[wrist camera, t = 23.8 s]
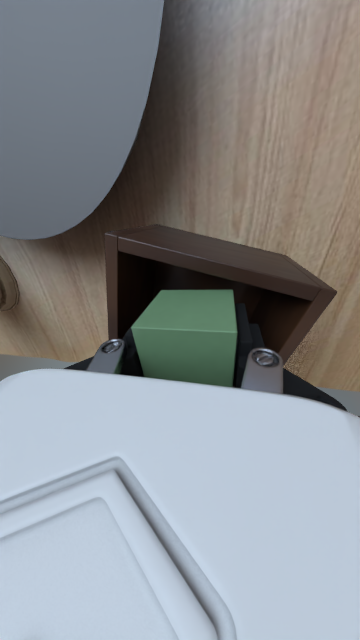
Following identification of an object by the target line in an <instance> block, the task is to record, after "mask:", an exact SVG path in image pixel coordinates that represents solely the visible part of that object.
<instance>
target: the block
mask: <svg viewBox="0 0 360 640" xmlns="http://www.w3.org/2000/svg"><path fill="white" fill-rule="evenodd" d="M131 329H132V333H133V337H134V340H135V344H136V348H137V351H138V355H139V359H140V363H141V366H142V370H143V374H144V377H147V378H156V379H165V380H173V381H182V382H191V383H199V384H208V385H216V386H225V387H233V378H234V367H235V355H236V344H237V333H238V332H237V323H236V313H235V304H234V294H233V290H161V291H160V292H159V294H158V295H157V296H156V297H155V299H154V300H153V301H152V302H151V303H150V305H149V306H148V307H147V308H146V310H145V311H144V312H143V313H142V315H141V316H140V317H139V318H138V319H137V321H136V322H135V323H134V324H133V326H132V327H131Z"/></svg>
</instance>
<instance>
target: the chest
mask: <svg viewBox="0 0 360 640" xmlns="http://www.w3.org/2000/svg"><path fill="white" fill-rule="evenodd" d="M104 236H105V260H106V285H107V309H108V334H109V340H111V339H123V338H124V336H125V334H126V332H127V331H128V330H129V329H130V327H131V326H132V325H133V324H134V322H135V321H136V320H137V319H138V318H139V316H140V315H141V314H142V313H143V311H144V310H145V309H146V308H147V307H148V305H149V304H150V303H151V302H152V301H153V300H154V299H155V297H156V296H157V295H158V294H159V292H160V291H161V290H233V294H234V304H235V303H245V308H246V312H247V317H248V322H249V324H258V325H259V328H260V332H261V335H262V339H263V342H264V345H265V348H268V349H271V350H273V351H275V352H277V353H278V354H279V355H280V356H281V357H282V360H283V365H284V364H285V363H286V361H287V360H288V359H289V357H290V356H291V355H292V353H293V352H294V350H295V349H296V348H297V346H298V345H299V344H300V342H301V341H302V340H303V338H304V337H305V336H306V334H307V333H308V332H309V330H310V329H311V328H312V326H313V325H314V323H315V322H316V321H317V319H318V318H319V317H320V315H321V314H322V313H323V311H324V310H325V309H326V307H327V306H328V305H329V303H330V302H331V301H332V299H333V298H334V296H335V295H336V294H337V291H336V290H334V289H333V288H332V287H330V286H329V285H327V284H326V283H325V282H323V281H322V280H320V279H319V278H317V277H316V276H315V275H313V274H312V273H310V272H309V271H308V270H306V269H305V268H303V267H302V266H301V265H299V264H298V263H296V262H295V261H294V260H292V259H291V258H289V257H288V256H286V255H282V254H278V253H274V252H270V251H266V250H261V249H257V248H253V247H249V246H245V245H241V244H237V243H232V242H228V241H224V240H220V239H216V238H212V237H208V236H203V235H199V234H195V233H191V232H187V231H183V230H179V229H174V228H170V227H166V226H162V225H158V224H154V225H148V226H142V227H137V228H131V229H125V230H119V231H114V232H108V233H105V234H104ZM233 388H235V386H233Z"/></svg>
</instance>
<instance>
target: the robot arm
mask: <svg viewBox="0 0 360 640" xmlns="http://www.w3.org/2000/svg"><path fill="white" fill-rule="evenodd" d="M149 305H150V304H149ZM149 305H148V306H149ZM145 310H146V309H145ZM145 310H144V311H145ZM144 311H143V312H144ZM235 313H236V323H237V332H238V333H237V344H236V355H235V367H234V378H233V386H235V388H233V387H225V386H216V385H208V384H199V383H191V382H182V381H173V380H165V379H156V378H147V377H144V374H143V370H142V366H141V363H140V359H139V355H138V351H137V348H136V344H135V340H134V337H133V333H132V329H131V327H132V326H133V325H132V326H131V327H130V329H129V330H128V331H127V332H126V334H125V336H124V338H123V339H111V340H108V341H106V342H104V343H103V344H102V345H101V346H100V347H99V349H98V350H97V352H96V354H95V355H94V356H93V357H91V358H88V359H86V360H84V361H81V362H79V363H76V364H74V365H71V366H69V367H67V368H64V369H58V368H51V369H48V368H47V369H36V370H30V371H25V372H21V373H18V374H14V375H12V376H9V377H7V378H5V379H3V380H2V381H0V640H360V416H356V415H354V414H352V413H349V412H348V411H347V410H346V408H345V407H344V406H343V405H342V404H341V403H339V402H338V401H337V400H336V399H334V398H333V397H331V396H329V395H328V394H326V393H324V392H323V391H321V390H319V389H318V388H316V387H314V386H313V385H311V384H309V383H308V382H306V381H304V380H303V379H301V378H299V377H298V376H296V375H294V374H293V373H291V372H289V371H288V370H286V369H284V368H283V360H282V357H281V356H280V355H279V354H278V353H277V352H275V351H273V350H271V349H268V348H265V345H264V342H263V339H262V335H261V332H260V328H259V325H258V324H249V322H248V317H247V312H246V308H245V303H235ZM141 315H142V314H141ZM141 315H140V316H141ZM140 316H139V317H140ZM136 321H137V320H136ZM136 321H135V322H136ZM135 322H134V323H135Z"/></svg>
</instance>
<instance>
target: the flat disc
mask: <svg viewBox="0 0 360 640" xmlns="http://www.w3.org/2000/svg"><path fill="white" fill-rule="evenodd" d="M163 6H164V0H0V236H4V237H8V238H13V239H26V240H33V239H42V238H48V237H51V236H54V235H57V234H61V233H63V232H65V231H67V230H68V229H70V228H72V227H74V226H76V225H77V224H79V223H80V222H81V221H82V220H83V219H85V218H86V217H87V216H88V215H89V214H91V213H92V212H93V211H94V210H95V208H96V207H97V206H98V205H99V203H100V202H101V201H102V200H103V199H104V197H105V196H106V195H107V194H108V192H109V190H110V189H111V187H112V185H113V184H114V183H115V182H116V180H117V178H118V176H119V174H120V173H121V171H122V169H123V167H124V166H125V164H126V162H127V160H128V158H129V156H130V154H131V152H132V150H133V148H134V145H135V143H136V141H137V137H138V133H139V129H140V125H141V121H142V118H143V114H144V110H145V105H146V102H147V98H148V93H149V89H150V84H151V79H152V74H153V70H154V65H155V60H156V55H157V51H158V45H159V37H160V29H161V22H162V14H163Z"/></svg>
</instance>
